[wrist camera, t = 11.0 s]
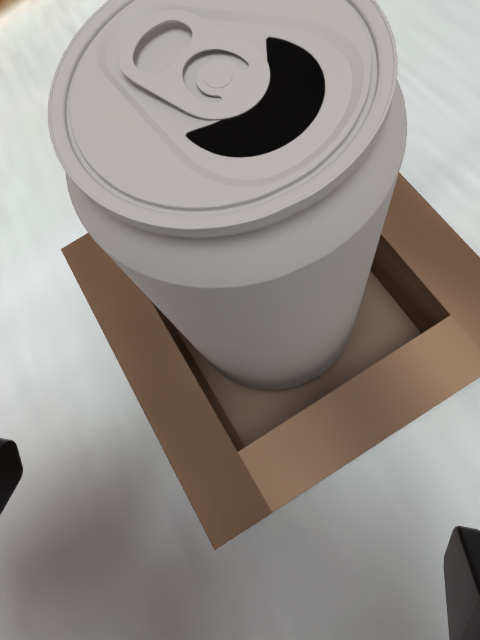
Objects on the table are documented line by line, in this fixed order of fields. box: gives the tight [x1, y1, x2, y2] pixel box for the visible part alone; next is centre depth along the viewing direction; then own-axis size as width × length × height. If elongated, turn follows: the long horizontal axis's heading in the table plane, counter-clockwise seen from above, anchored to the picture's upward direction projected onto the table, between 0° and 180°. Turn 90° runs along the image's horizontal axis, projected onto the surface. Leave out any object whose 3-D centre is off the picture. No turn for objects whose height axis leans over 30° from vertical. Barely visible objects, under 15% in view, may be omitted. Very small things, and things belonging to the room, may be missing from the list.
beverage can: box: [48, 0, 407, 390], centre depth 13 cm, size 6×6×12 cm
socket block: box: [61, 173, 480, 550], centre depth 17 cm, size 12×12×4 cm
